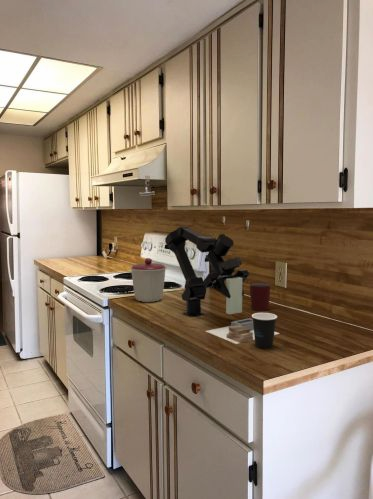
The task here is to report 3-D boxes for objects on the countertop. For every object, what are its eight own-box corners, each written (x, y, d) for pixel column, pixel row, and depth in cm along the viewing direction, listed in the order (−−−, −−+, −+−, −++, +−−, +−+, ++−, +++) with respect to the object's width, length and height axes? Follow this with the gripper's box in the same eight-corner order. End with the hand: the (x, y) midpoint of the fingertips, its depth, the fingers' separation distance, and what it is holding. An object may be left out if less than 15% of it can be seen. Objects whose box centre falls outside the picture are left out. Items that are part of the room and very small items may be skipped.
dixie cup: (277, 346, 132) (277, 313, 131) (276, 354, 124) (276, 319, 123) (252, 344, 134) (252, 311, 133) (250, 352, 126) (250, 318, 125)
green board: (226, 313, 151) (226, 278, 150) (238, 311, 154) (238, 277, 153) (229, 314, 149) (229, 279, 148) (241, 312, 153) (242, 278, 151)
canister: (124, 299, 204) (123, 257, 202) (154, 295, 215) (154, 255, 213) (142, 306, 190) (141, 261, 188) (174, 301, 200) (173, 258, 198)
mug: (242, 306, 188) (242, 282, 187) (258, 304, 192) (258, 281, 191) (257, 312, 177) (257, 287, 176) (274, 310, 181) (274, 285, 180)
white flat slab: (205, 334, 146) (205, 322, 145) (247, 325, 156) (247, 314, 156) (236, 347, 131) (236, 334, 131) (279, 336, 142) (280, 325, 142)
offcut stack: (226, 337, 138) (226, 327, 138) (239, 334, 141) (239, 324, 141) (240, 343, 132) (240, 332, 132) (254, 339, 135) (254, 329, 135)
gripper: (207, 251, 148) (226, 286, 140) (246, 249, 158) (266, 281, 150) (195, 270, 155) (212, 304, 147) (233, 266, 165) (251, 298, 157)
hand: (236, 296), depth 150 cm, fingers closed on green board, 6 cm apart
